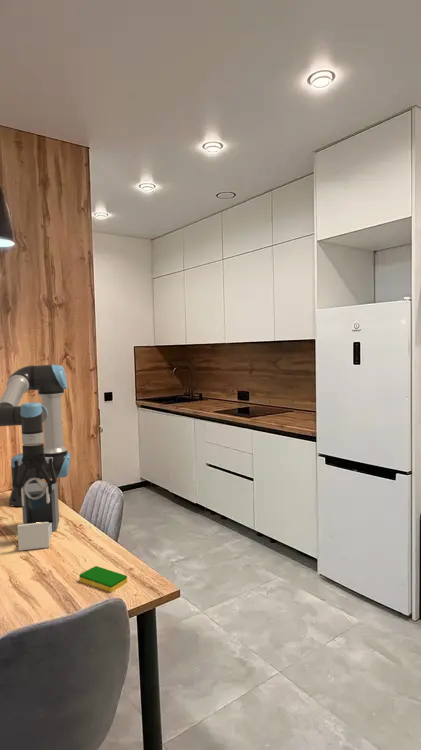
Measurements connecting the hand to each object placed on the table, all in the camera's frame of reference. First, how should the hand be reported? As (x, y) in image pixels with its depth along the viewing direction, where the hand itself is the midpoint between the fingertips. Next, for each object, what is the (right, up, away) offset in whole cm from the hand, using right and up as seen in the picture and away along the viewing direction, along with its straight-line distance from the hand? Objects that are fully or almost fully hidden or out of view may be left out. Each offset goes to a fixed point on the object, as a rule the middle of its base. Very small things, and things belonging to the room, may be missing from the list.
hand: (36, 503), depth 179 cm
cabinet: (-2, -13, +13) cm, 19 cm away
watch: (0, -1, 0) cm, 1 cm away
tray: (+1, -14, -1) cm, 14 cm away
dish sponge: (+33, -16, -33) cm, 49 cm away
